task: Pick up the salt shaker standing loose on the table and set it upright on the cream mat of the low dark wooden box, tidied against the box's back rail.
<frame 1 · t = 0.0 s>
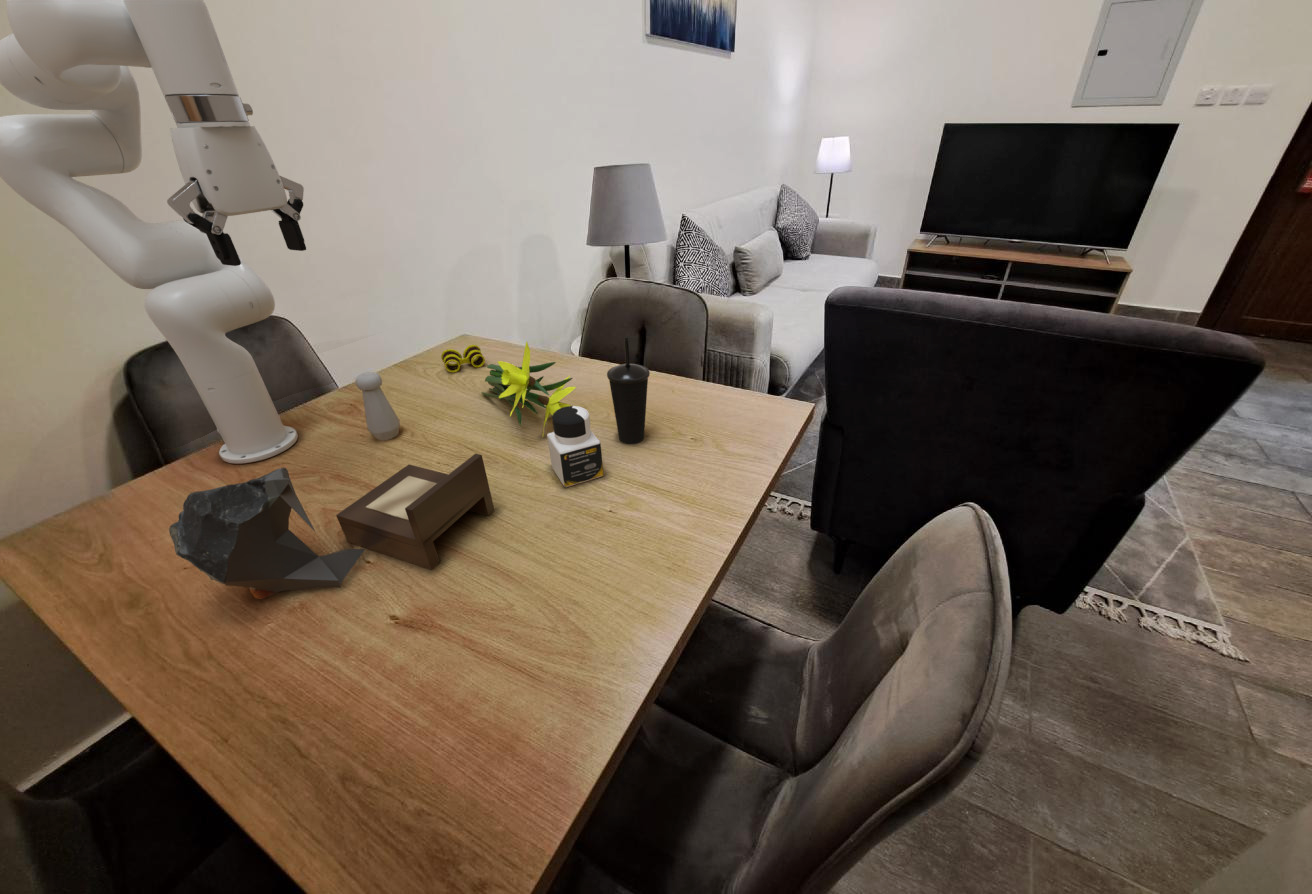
hand: (266, 257, 75), 37 cm above the table, tool pointing down, fingers open, 9 cm apart
medicine bottle: (577, 473, 92), on the table
dark grey irregular lump: (292, 583, 72), on the table, touching dark wooden box
drinking cup: (631, 438, 102), on the table
salt shaker: (387, 436, 105), on the table
opera glasses: (465, 367, 133), on the table
daffodil flowers: (519, 416, 111), on the table
dark wooden box: (423, 525, 81), on the table
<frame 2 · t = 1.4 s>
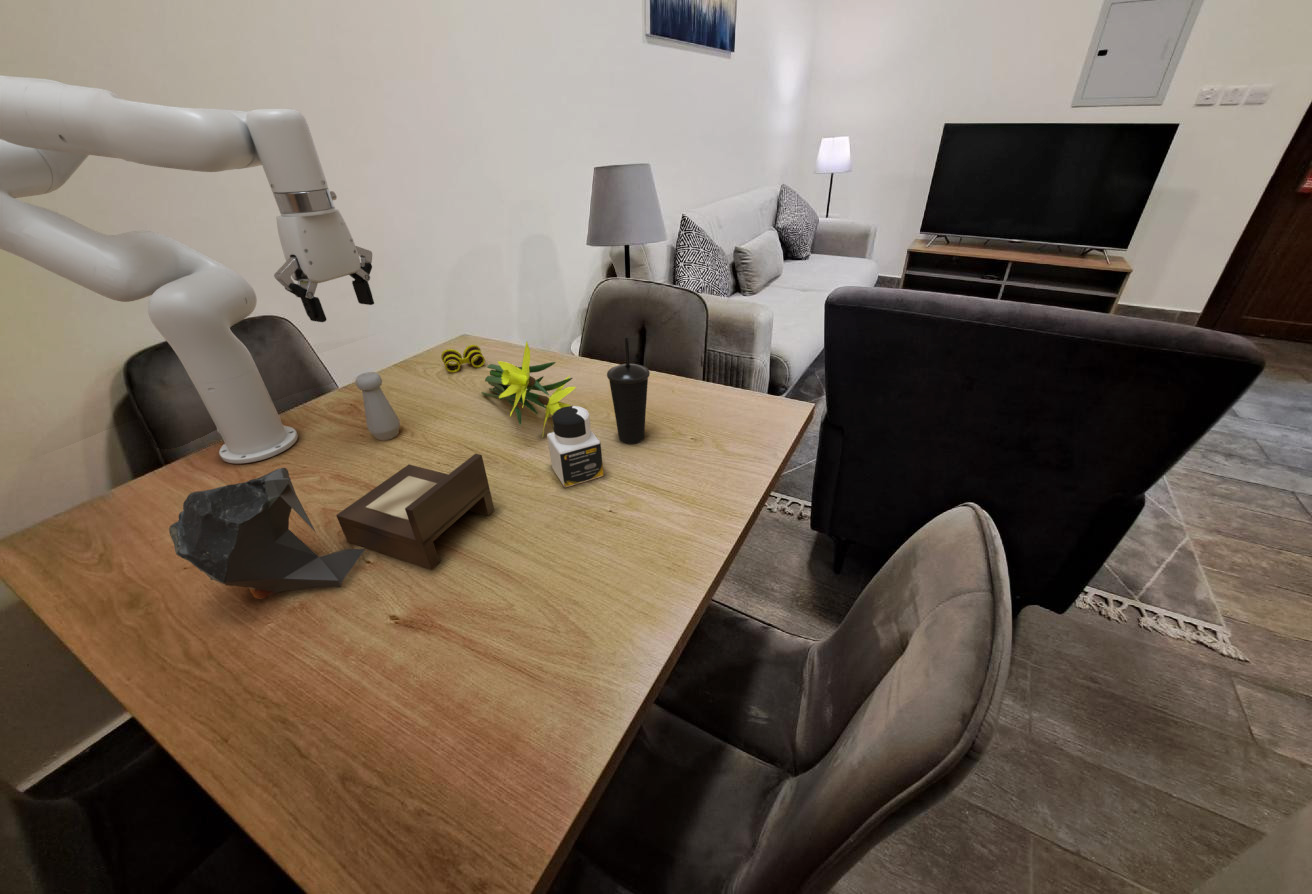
hand: (343, 312, 91), 25 cm above the table, tool pointing down, fingers open, 9 cm apart
nothing on the table moved.
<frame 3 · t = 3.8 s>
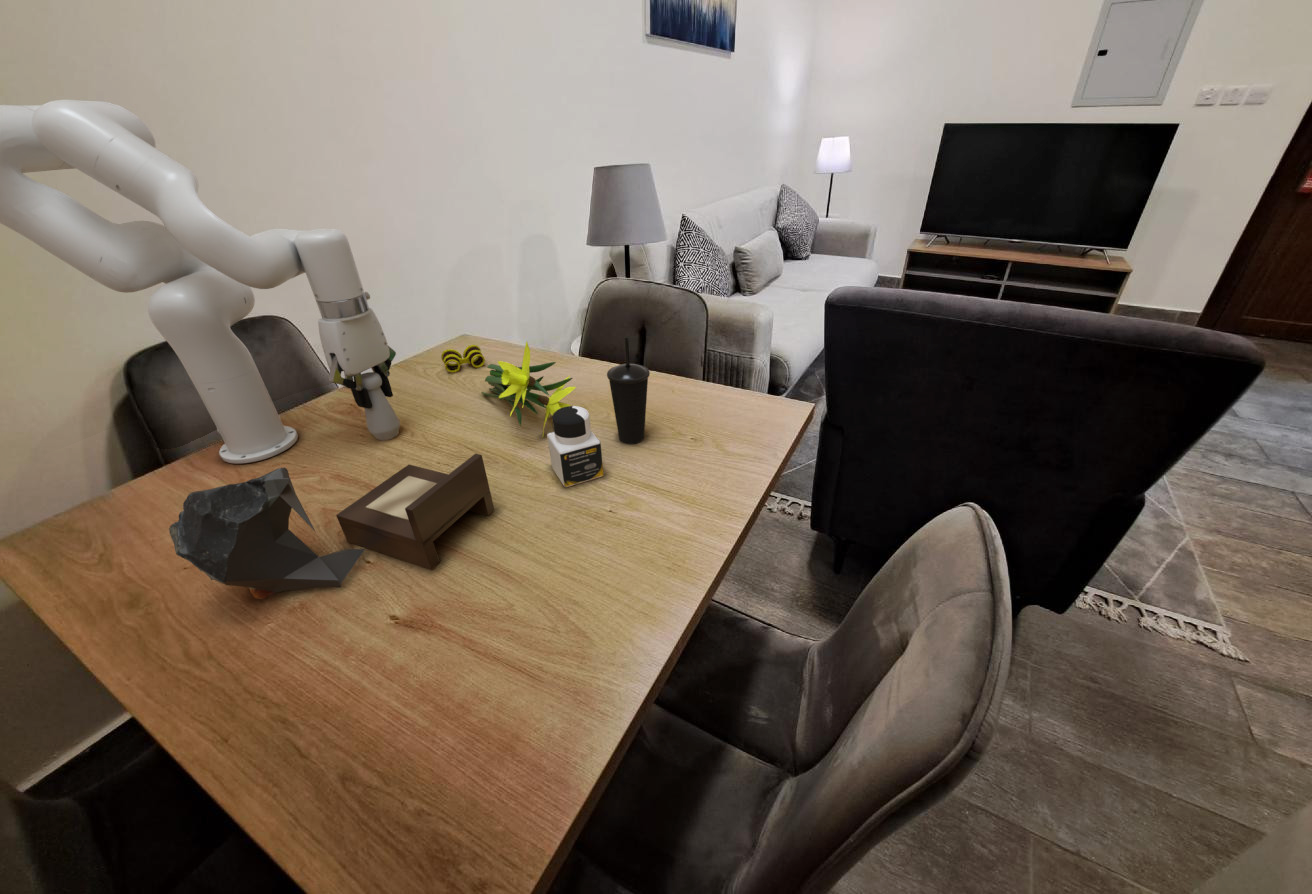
hand: (375, 400, 101), 8 cm above the table, tool pointing down, fingers closed on salt shaker, 4 cm apart
salt shaker: (387, 436, 105), on the table, touching gripper
everything else where it was.
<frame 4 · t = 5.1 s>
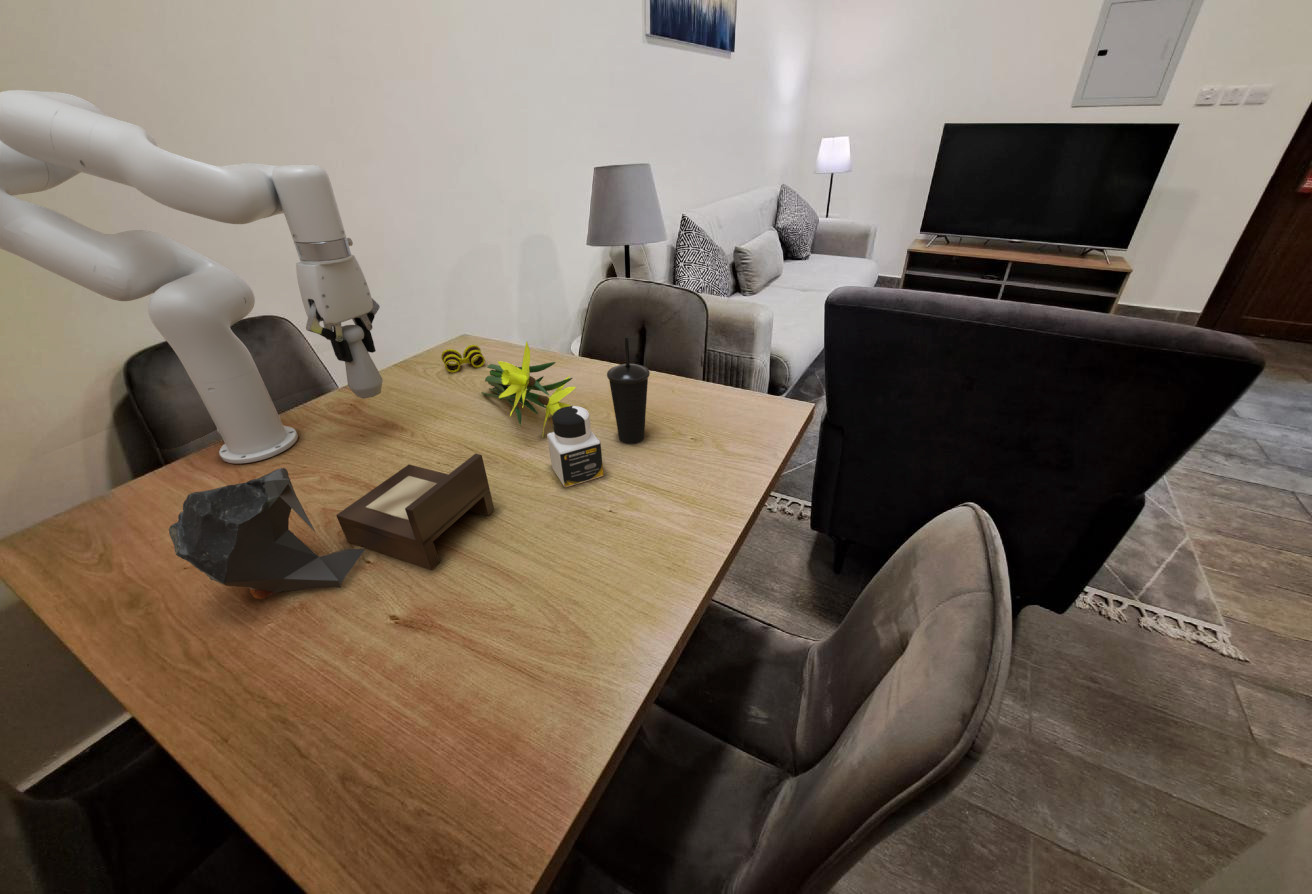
hand: (356, 354, 96), 17 cm above the table, tool pointing down, fingers closed on salt shaker, 4 cm apart
salt shaker: (369, 394, 100), point 9 cm above the table, touching gripper
everything else where it was.
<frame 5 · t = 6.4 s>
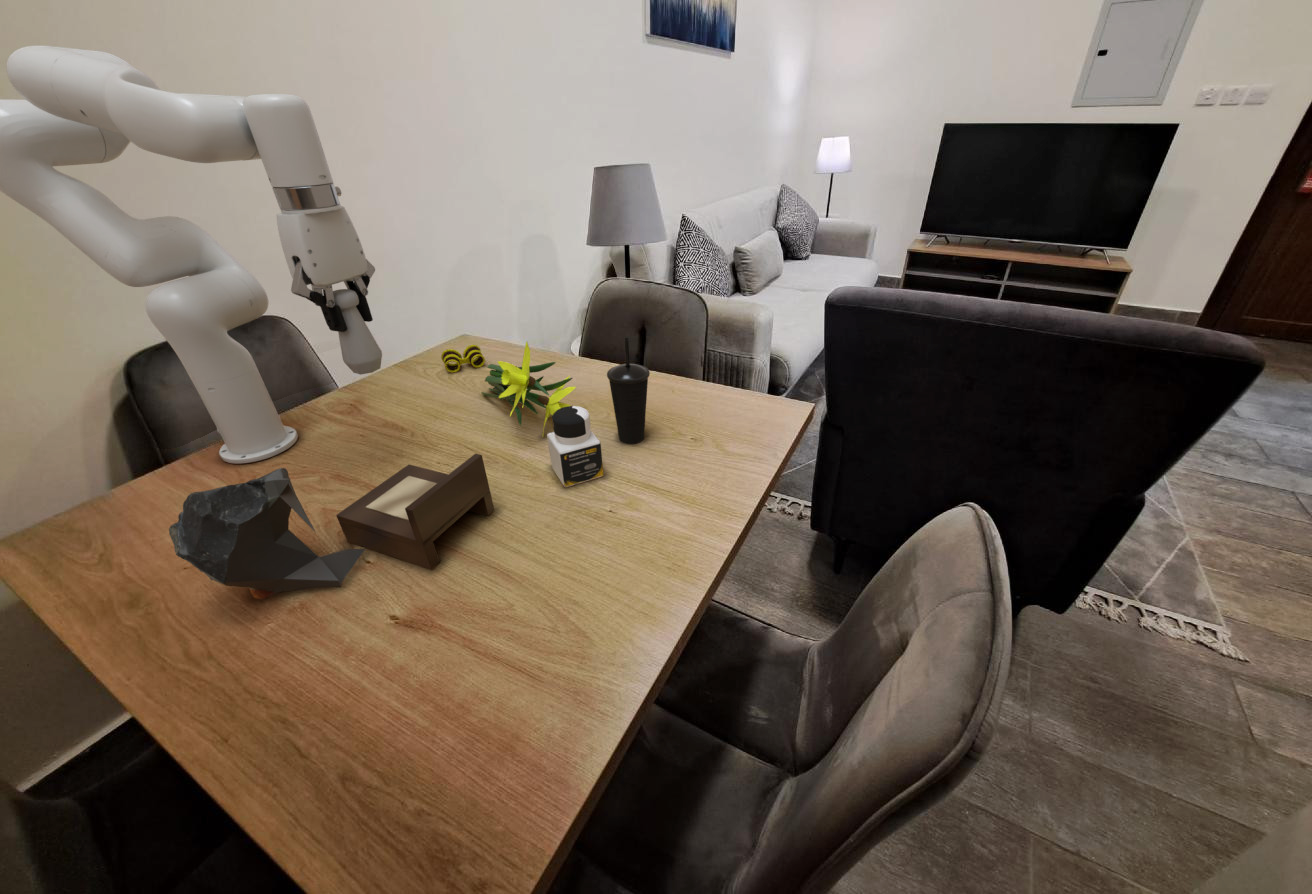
hand: (351, 324, 84), 25 cm above the table, tool pointing down, fingers closed on salt shaker, 4 cm apart
salt shaker: (367, 370, 88), point 18 cm above the table, touching gripper
everything else where it was.
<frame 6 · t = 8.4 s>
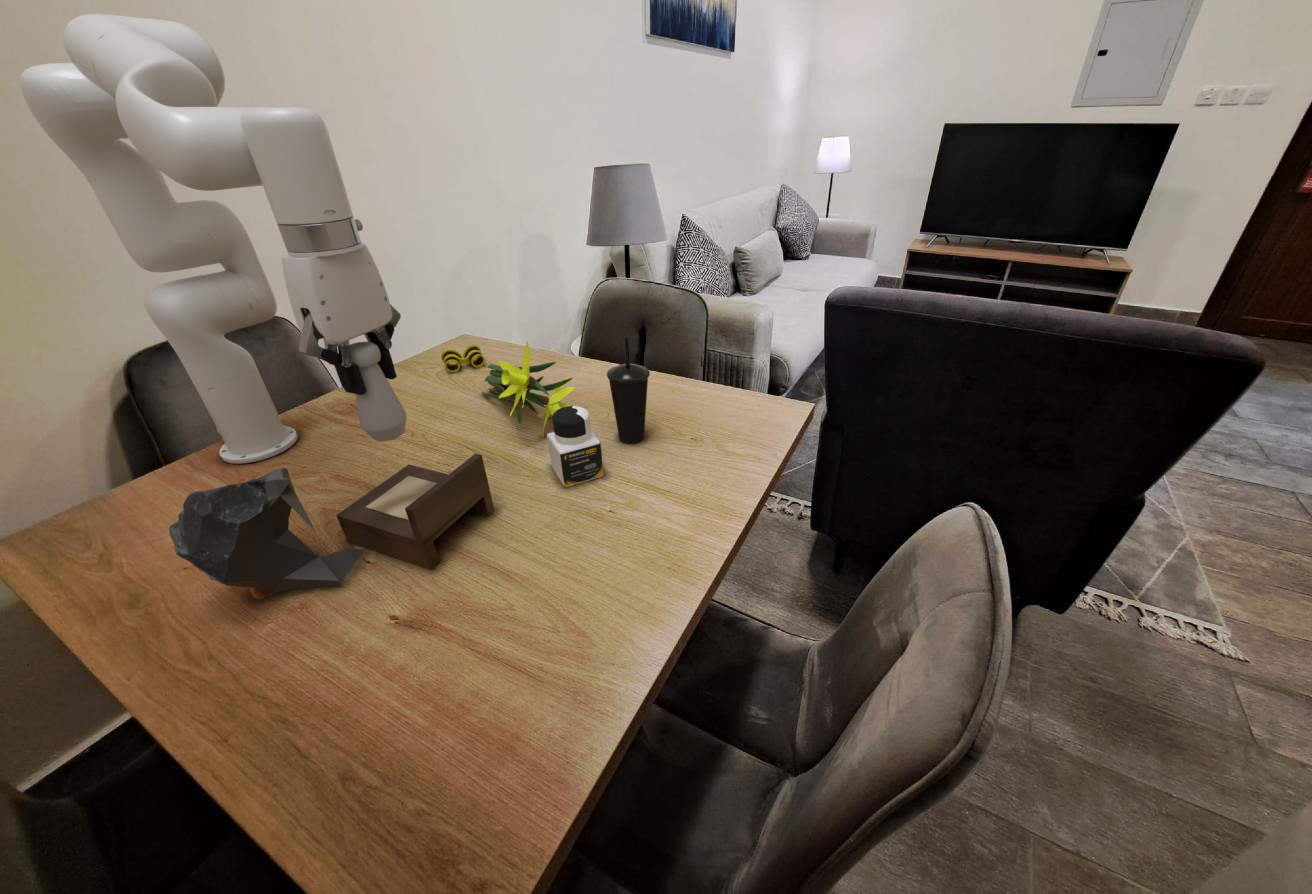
hand: (371, 383, 69), 24 cm above the table, tool pointing down, fingers closed on salt shaker, 4 cm apart
salt shaker: (389, 435, 73), point 16 cm above the table, touching gripper
everything else where it was.
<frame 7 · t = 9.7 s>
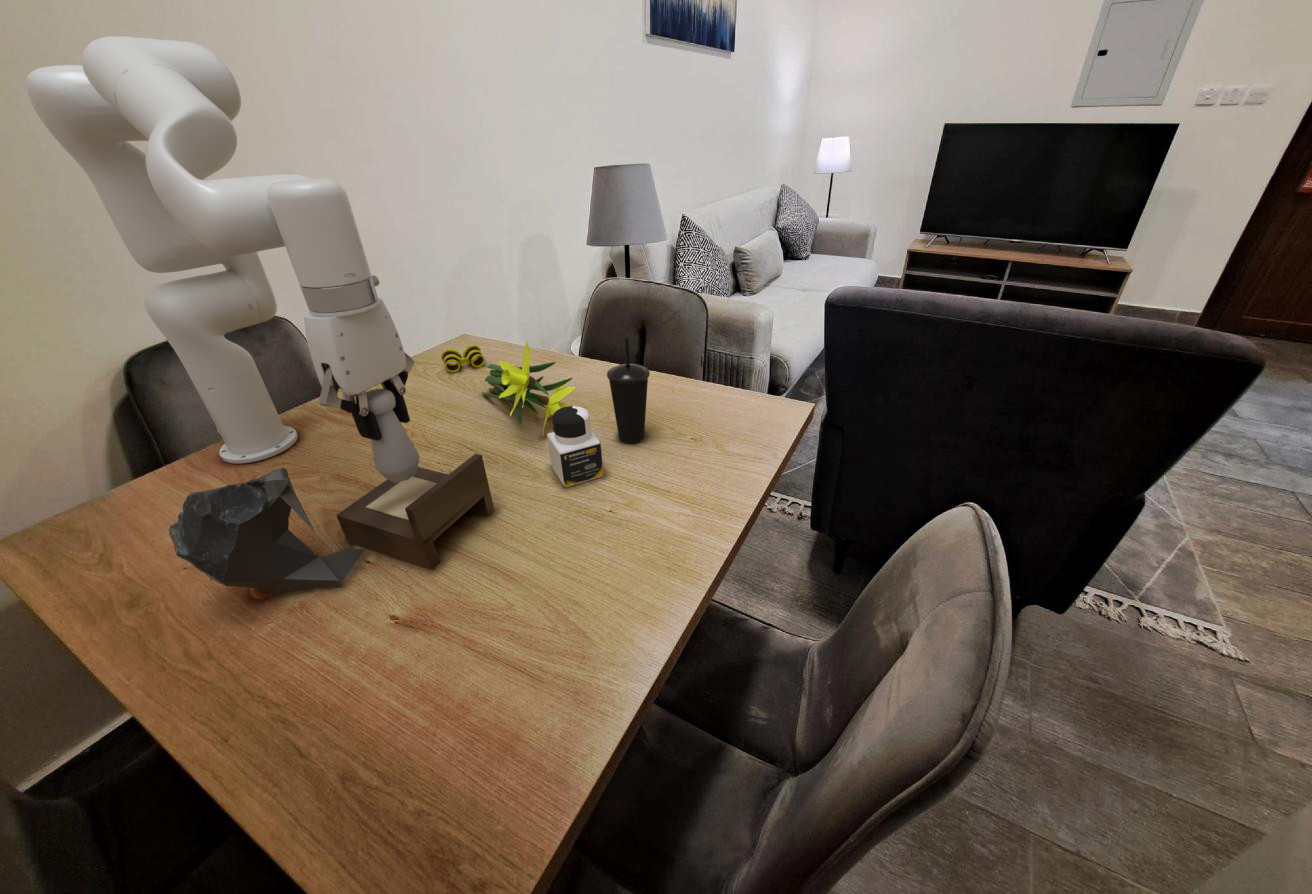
hand: (386, 427, 72), 17 cm above the table, tool pointing down, fingers closed on salt shaker, 4 cm apart
salt shaker: (402, 475, 76), point 9 cm above the table, touching gripper
everything else where it was.
when the fingers open (13 cm above the table, at t = 10.9 s): salt shaker stays where it is, resting on dark wooden box.
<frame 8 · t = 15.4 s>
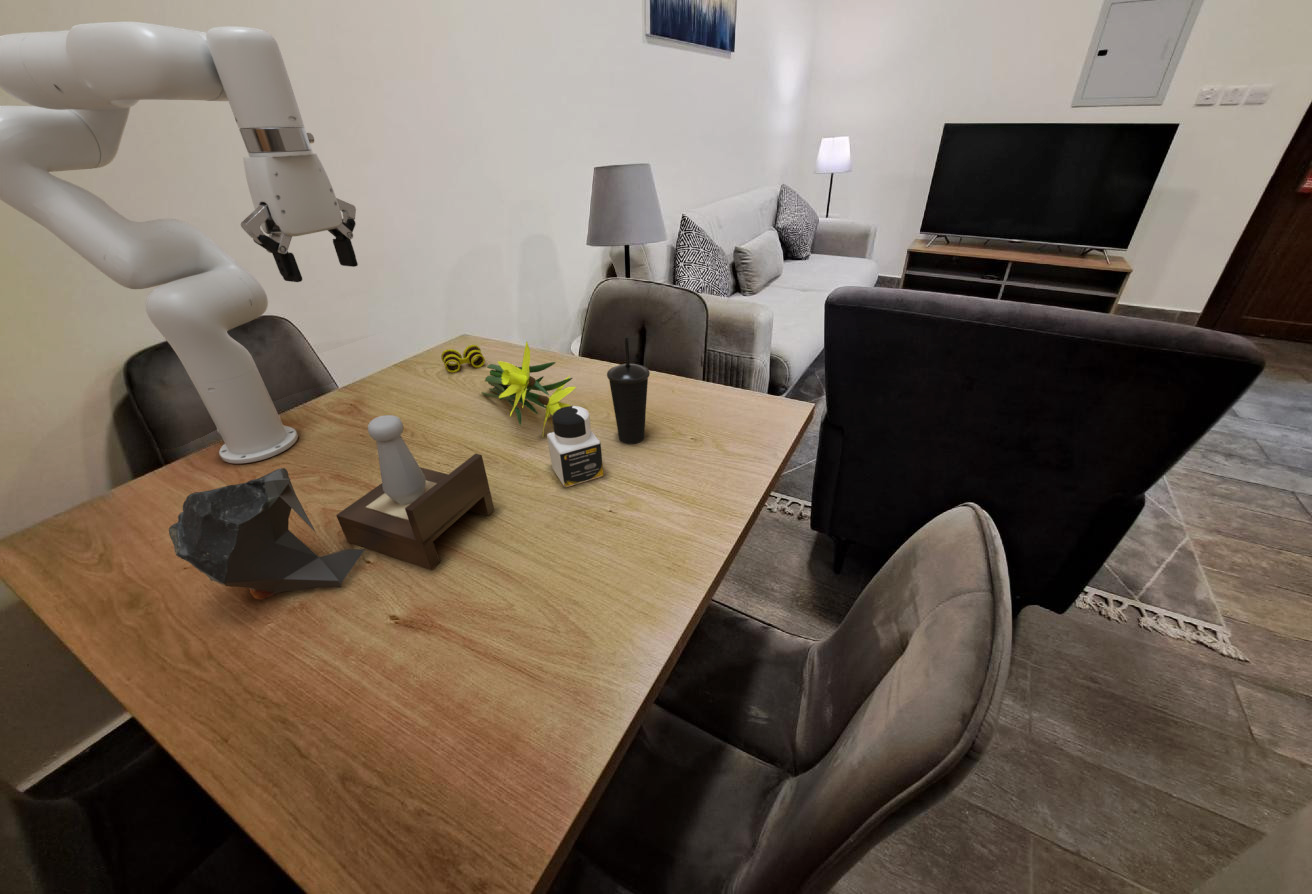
hand: (322, 273, 80), 33 cm above the table, tool pointing down, fingers open, 9 cm apart
salt shaker: (409, 497, 79), point 5 cm above the table, touching dark wooden box
everything else where it was.
at the end: salt shaker inside the target area on the dark wooden box (0.4 cm from its centre), point 5.1 cm above the dark wooden box's base; salt shaker tilted 0°; the gripper is holding nothing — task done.
